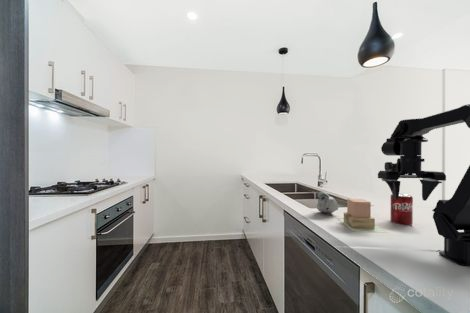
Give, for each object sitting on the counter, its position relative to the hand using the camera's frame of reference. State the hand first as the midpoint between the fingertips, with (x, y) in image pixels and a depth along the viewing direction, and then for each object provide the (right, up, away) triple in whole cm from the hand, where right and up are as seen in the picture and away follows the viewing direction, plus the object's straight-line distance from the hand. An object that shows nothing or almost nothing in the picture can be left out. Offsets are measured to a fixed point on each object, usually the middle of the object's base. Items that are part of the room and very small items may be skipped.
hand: (410, 200), depth 72 cm
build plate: (-11, -13, +11) cm, 20 cm away
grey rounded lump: (-18, -13, +26) cm, 34 cm away
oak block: (-12, -12, +10) cm, 20 cm away
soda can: (+8, -13, +14) cm, 21 cm away
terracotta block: (-12, -8, +10) cm, 18 cm away
